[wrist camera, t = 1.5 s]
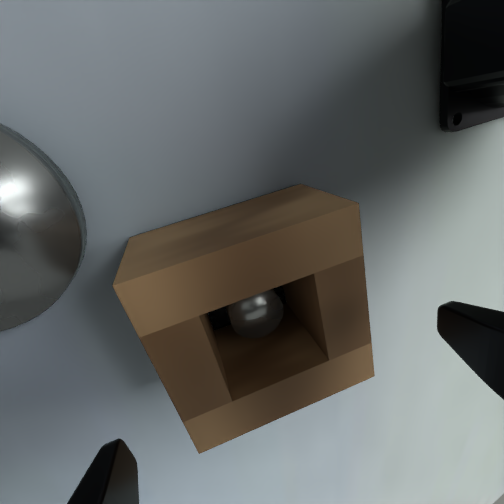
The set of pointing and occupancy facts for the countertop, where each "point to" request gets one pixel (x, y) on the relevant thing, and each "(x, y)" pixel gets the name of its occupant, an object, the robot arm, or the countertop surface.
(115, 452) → the robot arm
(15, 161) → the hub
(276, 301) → the grey metal cylinder
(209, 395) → the wooden square frame
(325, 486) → the countertop surface
